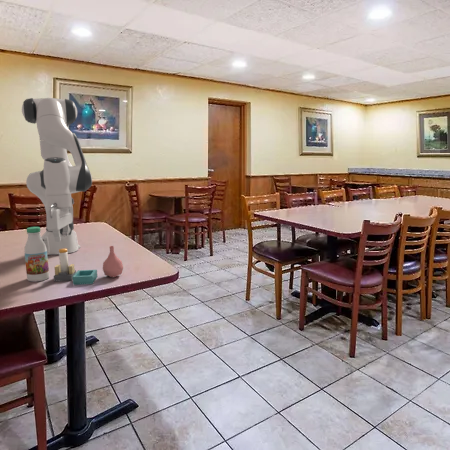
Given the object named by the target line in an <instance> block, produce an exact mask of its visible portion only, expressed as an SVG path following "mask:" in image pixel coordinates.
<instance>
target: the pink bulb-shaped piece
mask: <svg viewBox="0 0 450 450" xmlns="http://www.w3.org/2000/svg"><path fill="white" fill-rule="evenodd" d="M108 253H109V254H108V256H107V258H106V259H105V260H104V261H103V263H102V271H103V273H104V276H108V277H110V278H116V277H117V276H119V275H121V274H122V273H123V270H124V265H123V262H122V260H121V259H120V258H119V257H118V256H117V254H116V253H115V247H114V245H110V246H109V252H108Z"/></svg>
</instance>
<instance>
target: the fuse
mask: <svg viewBox="0 0 450 450" xmlns="http://www.w3.org/2000/svg"><path fill="white" fill-rule="evenodd" d="M58 257H59V265H60V270H61V272H67V274H68V273H69V266H70V265H69V253H68V251H67V249H66V248H63V249H59V254H58Z"/></svg>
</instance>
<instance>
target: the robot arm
mask: <svg viewBox="0 0 450 450" xmlns="http://www.w3.org/2000/svg"><path fill="white" fill-rule="evenodd" d="M21 113H22V116H23V118H24V119H25V121H26V122H27V123H30V124H34V125H35V124H36V128H37V133H38V137H39V146H40V156H41V158H42V159H43V160H44V161H43V169H42V170H39V171H33V172H31V173H29V174H28V175H27V176H26V180H25V181H26V182H25V183H26V187H27V190H29V192H30V193H32V194H33V195H35V196H36V197H37V198H38V199H40V201H41V202H42V204H43V207H44V210H45V213H46V216H45V217H46V224H45V231H44V233H43V234H42V235H41V238H42V240H43V242H44V243H45V245H46V249H47V256H48V255H50V256H51V255H59V249H63V248H66V249H67V251H68V254H71V253H75V252H77V251H79V249H81V245H80V244H79V242H78V235H77V232H76V231H75V230H74V227H75V225H74V207H73V205H74V204H75V199H74V198H73V197H72V194H76V193H80V192H86V191H87V190H89V189H90V188H91V187H92V185H93V176H92V173H91V171H90V168H89V167H88V163H87V162H86V159H85V155H84V153H83V150H82V147H81V144H80V141H79V139H78V136H77V135H76V133H75V132H73V131H71V130H70V129H69V128H68V127H69V125H72V124H73V123H75V121H76V119H77V117H78V108H77V106H76V104H75V102H74V101H73V100H71V99H67V98H65V99H63V98H62V99H61V98H55V97H45V98H43V97H42V98H38V97H37V98H32V97H31V98H26V99H24V101H23V102H22V106H21ZM68 152H70V154H71V155H72V159H73V163H74V165H72V163H71V162H70V159H69V156H68Z"/></svg>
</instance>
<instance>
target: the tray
mask: <svg viewBox="0 0 450 450" xmlns="http://www.w3.org/2000/svg"><path fill="white" fill-rule="evenodd" d="M97 278H98V269H81V270H80V269H79V270H76V273H75V275H74V276H73V280H72V284H73V285H72V286H75V285H76V286H77V285H93V284H94V283H95V281H96V280H97Z"/></svg>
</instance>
